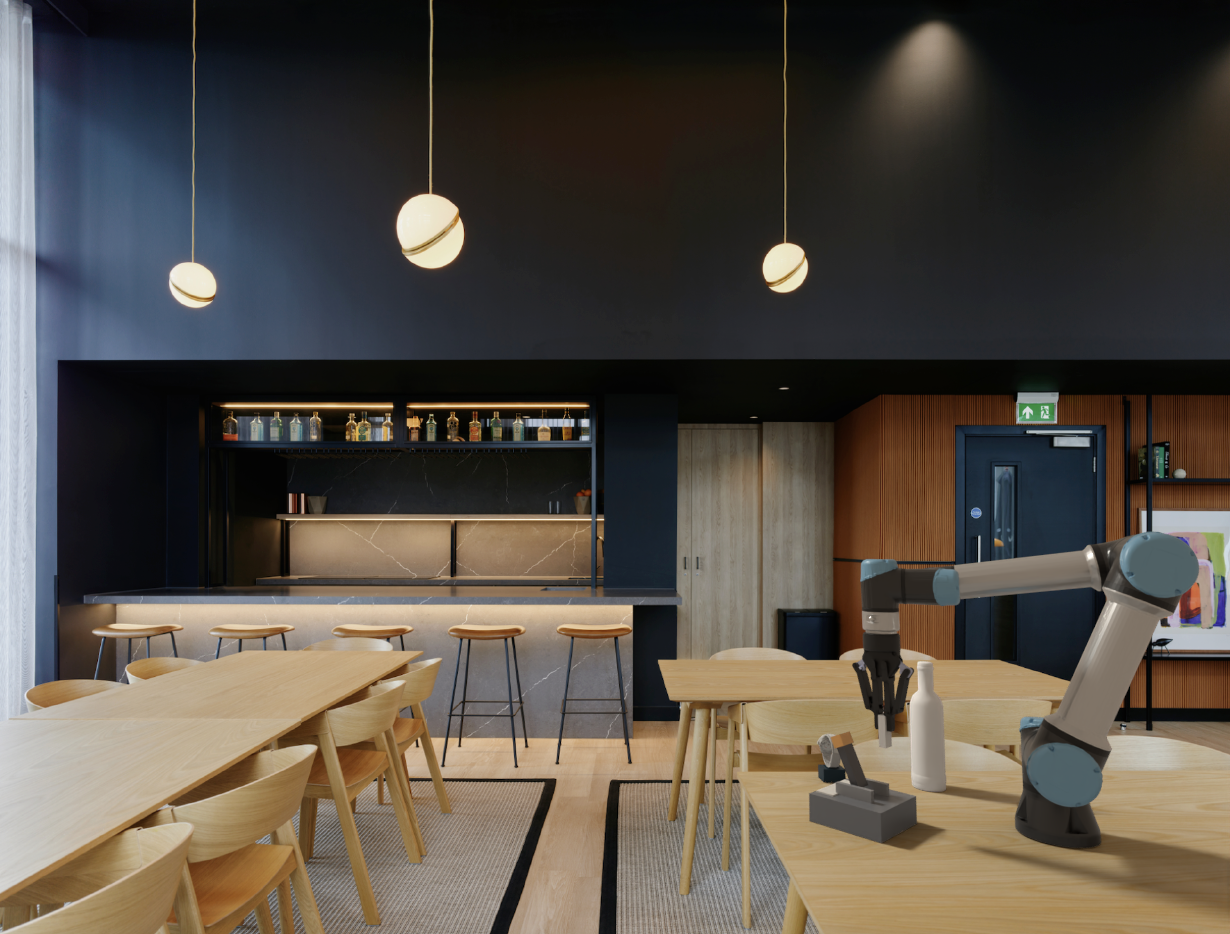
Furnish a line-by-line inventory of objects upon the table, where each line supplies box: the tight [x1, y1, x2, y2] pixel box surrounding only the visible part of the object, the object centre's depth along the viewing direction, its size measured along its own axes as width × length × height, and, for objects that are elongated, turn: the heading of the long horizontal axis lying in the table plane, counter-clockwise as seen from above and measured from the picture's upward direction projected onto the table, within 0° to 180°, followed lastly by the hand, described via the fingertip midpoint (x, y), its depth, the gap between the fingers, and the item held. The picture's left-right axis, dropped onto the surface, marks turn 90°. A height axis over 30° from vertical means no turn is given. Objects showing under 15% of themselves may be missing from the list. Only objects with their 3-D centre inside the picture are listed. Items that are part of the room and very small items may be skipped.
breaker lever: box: [831, 731, 868, 787], centre depth 159 cm, size 2×4×11 cm, turn 136°
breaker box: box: [808, 777, 918, 844], centre depth 156 cm, size 16×16×8 cm
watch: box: [816, 733, 847, 784], centre depth 186 cm, size 6×8×11 cm
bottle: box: [909, 660, 947, 793], centre depth 182 cm, size 8×8×30 cm
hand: (885, 746), depth 154 cm, fingers closed
